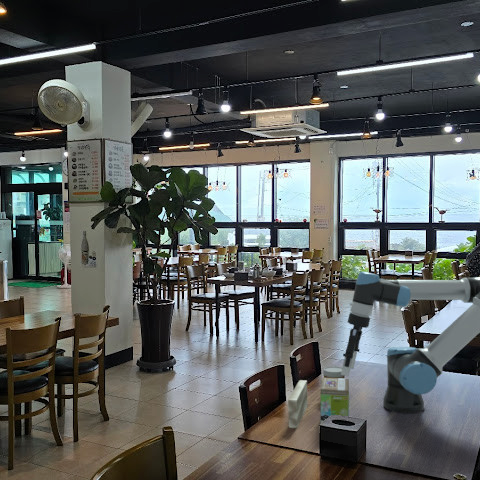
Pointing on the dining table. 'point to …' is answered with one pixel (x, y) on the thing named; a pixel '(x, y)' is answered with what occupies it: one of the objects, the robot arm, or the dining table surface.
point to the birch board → (297, 404)
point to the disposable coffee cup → (332, 372)
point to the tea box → (334, 397)
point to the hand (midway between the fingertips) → (347, 371)
